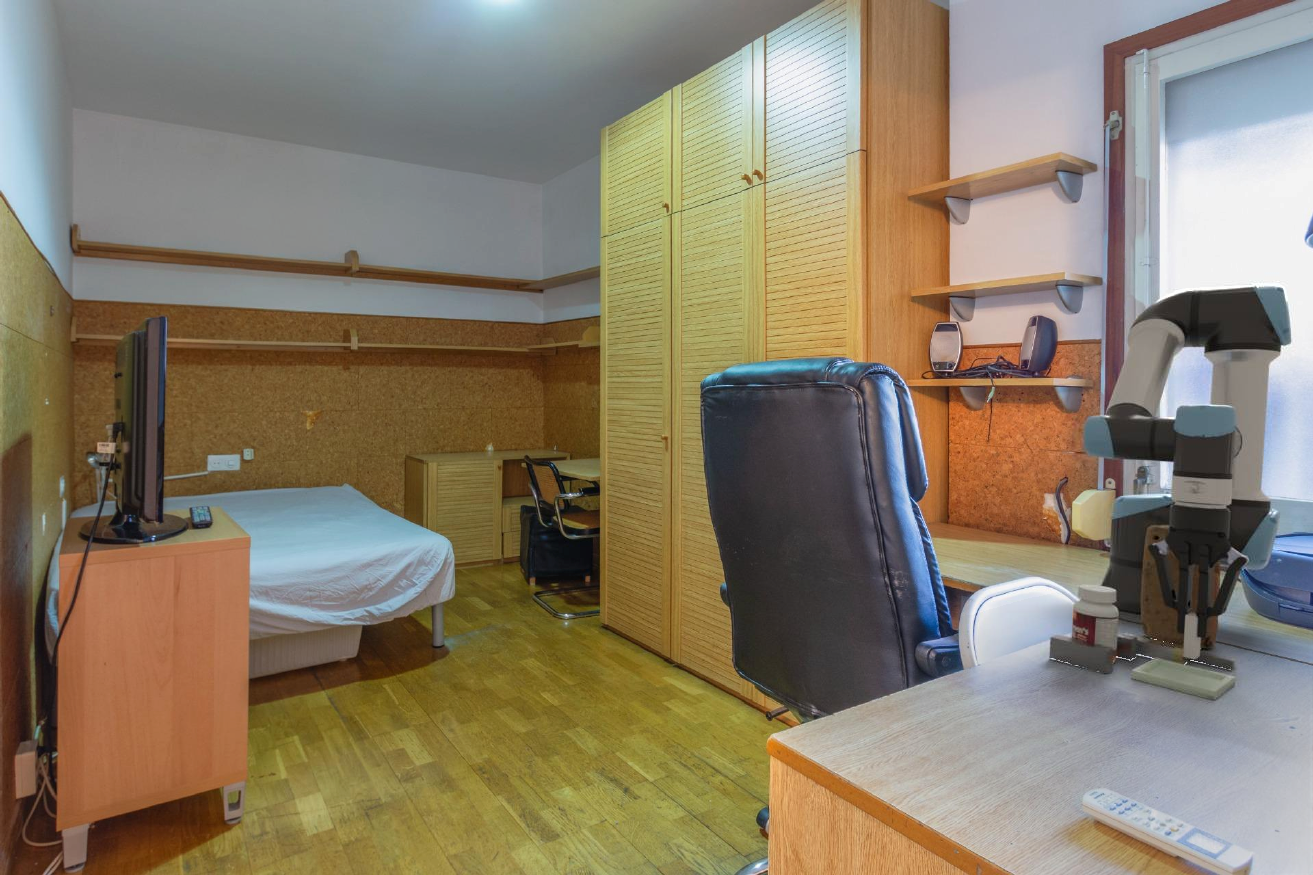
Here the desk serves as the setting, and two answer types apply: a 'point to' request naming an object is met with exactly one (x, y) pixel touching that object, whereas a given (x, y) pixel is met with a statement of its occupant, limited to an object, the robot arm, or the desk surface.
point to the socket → (1091, 651)
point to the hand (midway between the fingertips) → (1191, 656)
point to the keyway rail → (1215, 660)
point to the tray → (1184, 678)
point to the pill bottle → (1096, 616)
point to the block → (1164, 619)
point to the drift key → (1160, 649)
